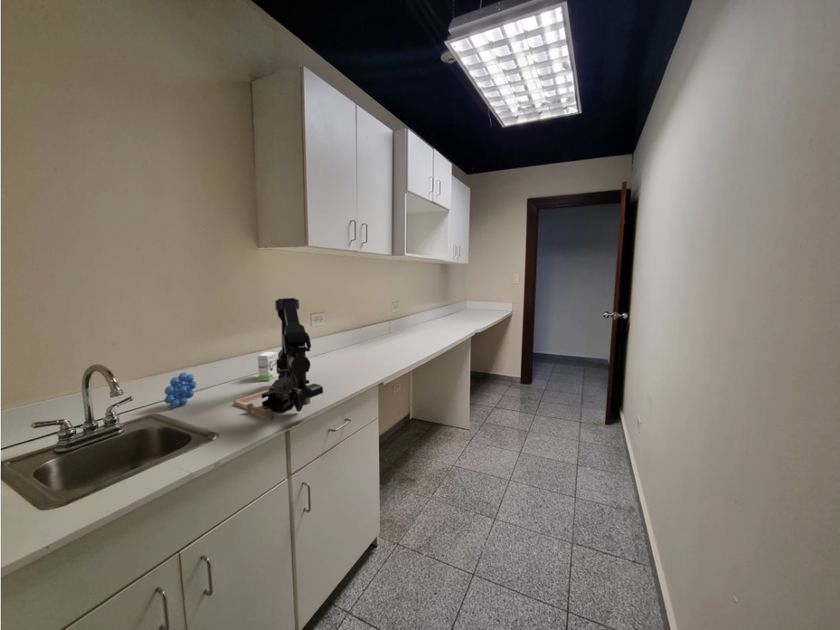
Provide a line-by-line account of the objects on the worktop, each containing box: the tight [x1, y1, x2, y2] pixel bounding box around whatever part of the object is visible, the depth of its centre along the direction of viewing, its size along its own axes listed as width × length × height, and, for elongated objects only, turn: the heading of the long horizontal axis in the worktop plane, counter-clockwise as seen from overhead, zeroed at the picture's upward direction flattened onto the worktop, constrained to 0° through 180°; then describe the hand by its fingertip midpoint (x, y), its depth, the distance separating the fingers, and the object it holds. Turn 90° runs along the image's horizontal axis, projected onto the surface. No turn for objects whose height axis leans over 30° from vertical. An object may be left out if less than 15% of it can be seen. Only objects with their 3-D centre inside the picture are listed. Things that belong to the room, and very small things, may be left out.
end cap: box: [261, 387, 295, 414], centre depth 123 cm, size 10×7×7 cm
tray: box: [233, 389, 269, 410], centre depth 129 cm, size 14×12×2 cm
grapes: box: [164, 372, 197, 409], centre depth 126 cm, size 12×7×12 cm, turn 161°
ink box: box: [257, 351, 279, 382], centre depth 158 cm, size 9×5×12 cm, turn 172°
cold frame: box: [246, 398, 311, 421], centre depth 124 cm, size 17×11×3 cm, turn 148°
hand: (298, 411), depth 118 cm, fingers closed
